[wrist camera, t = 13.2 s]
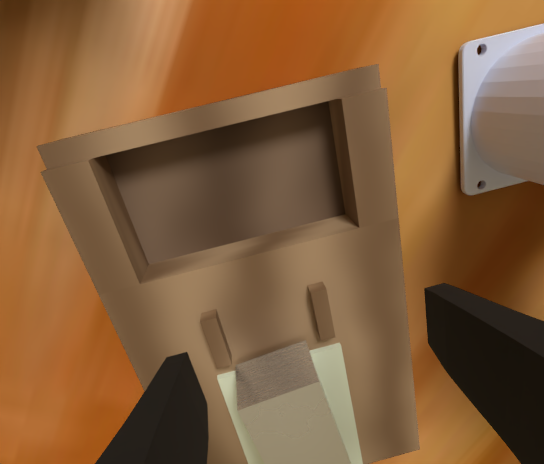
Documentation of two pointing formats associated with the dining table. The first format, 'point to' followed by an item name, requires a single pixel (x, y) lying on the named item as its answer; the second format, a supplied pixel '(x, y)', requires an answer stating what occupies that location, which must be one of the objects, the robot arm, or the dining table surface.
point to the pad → (335, 389)
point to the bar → (288, 409)
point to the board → (252, 242)
